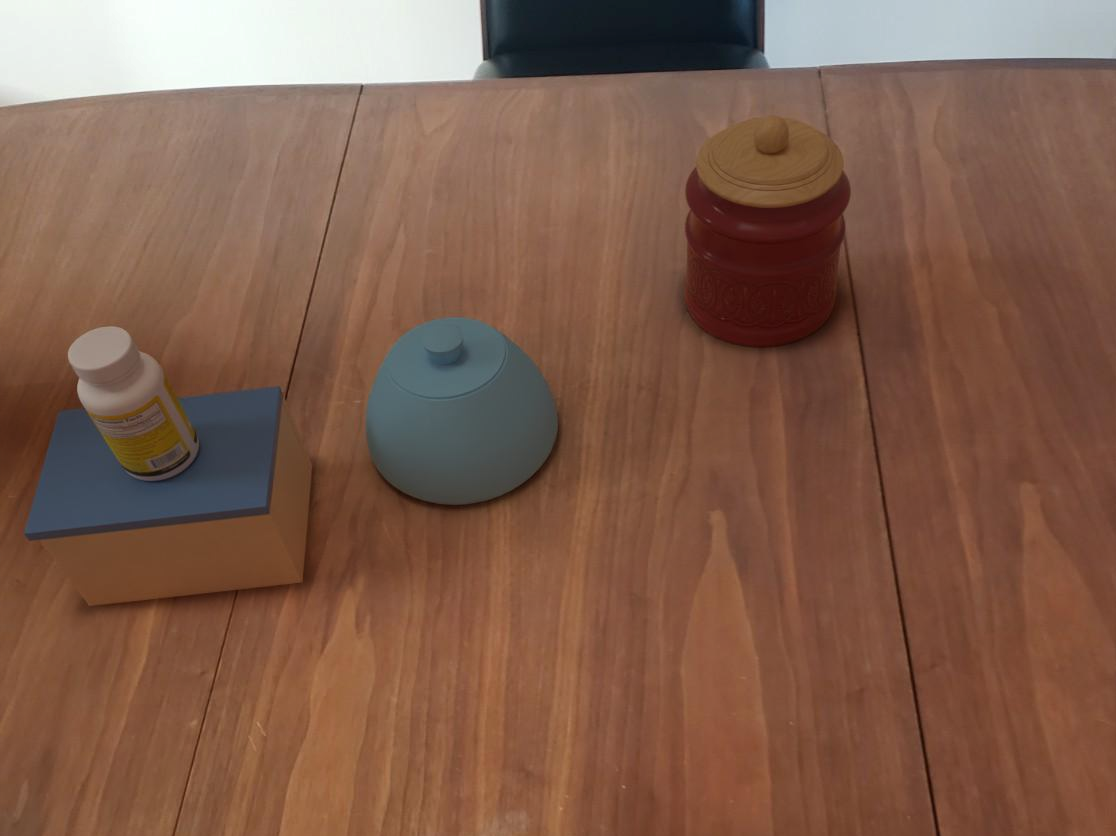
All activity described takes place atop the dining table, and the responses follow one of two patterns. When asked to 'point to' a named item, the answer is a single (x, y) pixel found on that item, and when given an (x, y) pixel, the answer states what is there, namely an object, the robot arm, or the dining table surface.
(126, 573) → the chest
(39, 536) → the chest lid
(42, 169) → the dining table surface
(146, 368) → the supplement bottle
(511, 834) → the dining table surface
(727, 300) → the kitchen canister
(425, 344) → the sugar bowl
